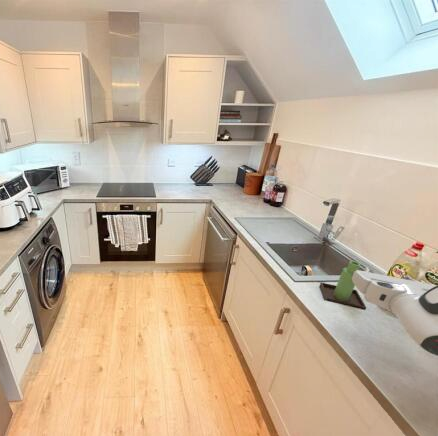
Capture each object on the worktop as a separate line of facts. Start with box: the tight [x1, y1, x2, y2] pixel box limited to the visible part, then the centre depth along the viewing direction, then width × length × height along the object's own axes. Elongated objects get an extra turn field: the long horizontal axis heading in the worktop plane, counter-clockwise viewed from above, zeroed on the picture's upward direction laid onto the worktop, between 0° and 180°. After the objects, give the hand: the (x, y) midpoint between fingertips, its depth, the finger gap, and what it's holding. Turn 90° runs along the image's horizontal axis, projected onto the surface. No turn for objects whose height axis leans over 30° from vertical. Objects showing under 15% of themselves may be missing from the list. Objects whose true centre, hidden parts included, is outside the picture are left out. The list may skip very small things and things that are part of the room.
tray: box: [318, 282, 367, 311], centre depth 99 cm, size 13×11×2 cm
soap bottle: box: [333, 260, 361, 301], centre depth 96 cm, size 5×5×17 cm
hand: (385, 272), depth 77 cm, fingers open, 8 cm apart
